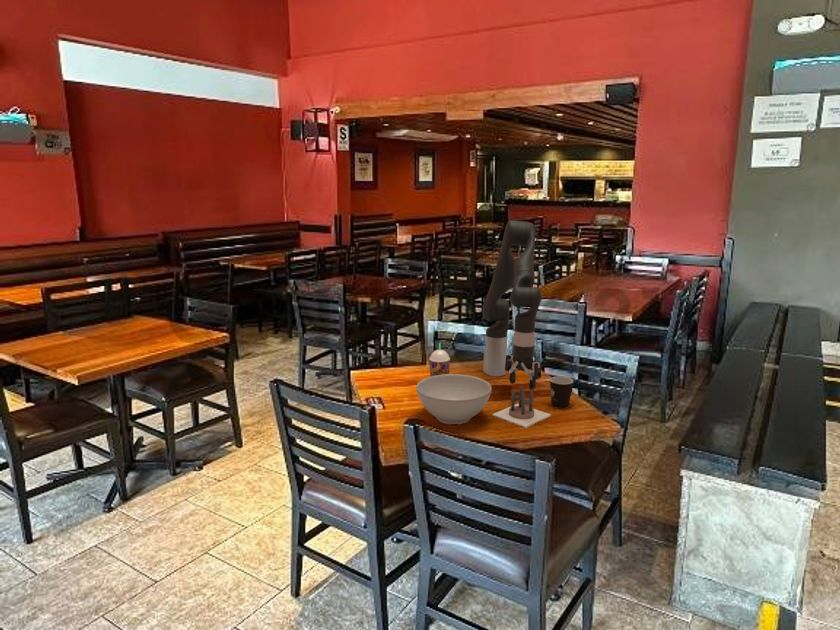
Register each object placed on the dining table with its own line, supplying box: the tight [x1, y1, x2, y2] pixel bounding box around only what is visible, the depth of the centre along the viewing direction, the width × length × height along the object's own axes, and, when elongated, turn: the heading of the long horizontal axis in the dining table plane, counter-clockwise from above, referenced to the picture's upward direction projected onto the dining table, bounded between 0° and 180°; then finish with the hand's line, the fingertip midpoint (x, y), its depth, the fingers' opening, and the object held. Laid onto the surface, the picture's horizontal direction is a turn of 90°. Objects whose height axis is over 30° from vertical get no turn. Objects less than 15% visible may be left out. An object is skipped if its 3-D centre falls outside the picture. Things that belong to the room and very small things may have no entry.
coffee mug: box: [549, 376, 574, 409], centre depth 227 cm, size 12×9×10 cm
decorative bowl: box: [415, 373, 493, 425], centre depth 214 cm, size 27×27×12 cm
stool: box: [509, 385, 534, 419], centre depth 215 cm, size 9×9×10 cm
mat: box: [491, 403, 552, 429], centre depth 216 cm, size 15×15×1 cm
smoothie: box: [429, 342, 451, 377], centre depth 240 cm, size 8×8×20 cm
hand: (522, 386), depth 214 cm, fingers open, 8 cm apart
